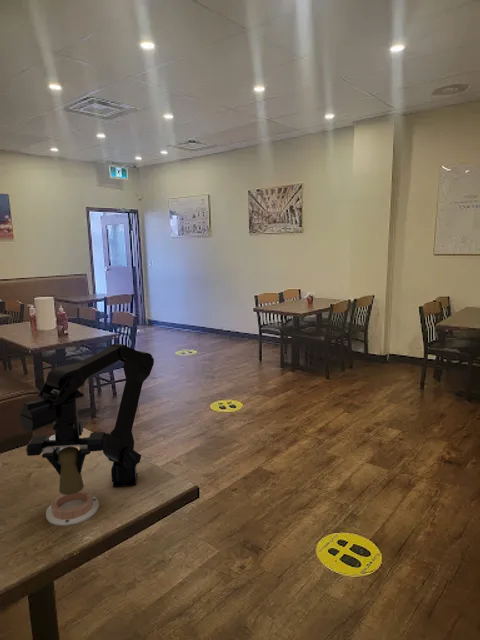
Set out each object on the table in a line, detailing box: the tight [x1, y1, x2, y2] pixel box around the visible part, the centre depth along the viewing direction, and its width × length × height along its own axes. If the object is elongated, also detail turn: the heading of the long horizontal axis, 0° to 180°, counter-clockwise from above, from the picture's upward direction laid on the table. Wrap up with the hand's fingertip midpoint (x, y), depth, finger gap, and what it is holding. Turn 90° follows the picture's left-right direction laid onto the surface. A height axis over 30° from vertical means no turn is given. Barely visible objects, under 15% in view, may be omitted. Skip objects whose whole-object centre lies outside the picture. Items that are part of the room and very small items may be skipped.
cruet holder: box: [45, 489, 100, 527], centre depth 114 cm, size 13×13×3 cm
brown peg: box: [58, 446, 85, 495], centre depth 113 cm, size 6×6×11 cm
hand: (70, 473), depth 113 cm, fingers closed on brown peg, 4 cm apart
